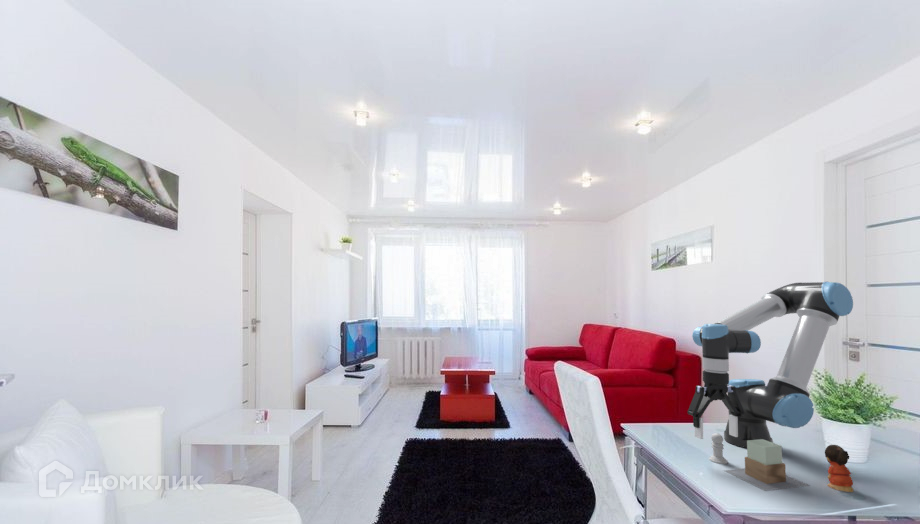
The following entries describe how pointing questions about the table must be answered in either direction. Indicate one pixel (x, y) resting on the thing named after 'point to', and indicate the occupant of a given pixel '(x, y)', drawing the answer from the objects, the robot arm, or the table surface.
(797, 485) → the mat
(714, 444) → the chess piece
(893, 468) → the table surface
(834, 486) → the figurine
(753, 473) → the block bottom
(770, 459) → the block top
